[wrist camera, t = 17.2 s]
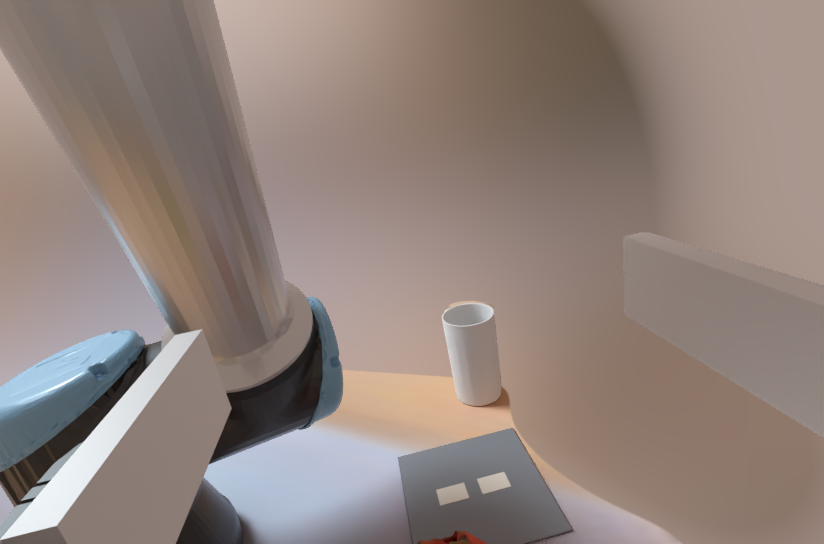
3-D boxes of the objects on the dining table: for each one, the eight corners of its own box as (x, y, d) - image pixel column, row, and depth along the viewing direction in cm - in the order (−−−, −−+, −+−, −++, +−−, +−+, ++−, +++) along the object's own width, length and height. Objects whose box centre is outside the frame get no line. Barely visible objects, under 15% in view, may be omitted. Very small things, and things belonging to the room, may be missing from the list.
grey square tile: (418, 574, 36) (417, 572, 36) (398, 458, 49) (397, 457, 49) (572, 530, 38) (572, 529, 37) (512, 428, 51) (512, 427, 51)
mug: (514, 394, 57) (505, 313, 53) (472, 415, 54) (459, 331, 51) (472, 363, 66) (461, 292, 62) (434, 380, 63) (421, 307, 59)
